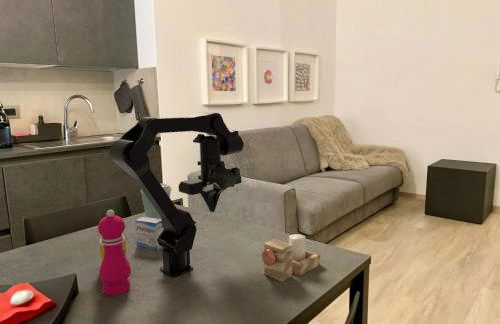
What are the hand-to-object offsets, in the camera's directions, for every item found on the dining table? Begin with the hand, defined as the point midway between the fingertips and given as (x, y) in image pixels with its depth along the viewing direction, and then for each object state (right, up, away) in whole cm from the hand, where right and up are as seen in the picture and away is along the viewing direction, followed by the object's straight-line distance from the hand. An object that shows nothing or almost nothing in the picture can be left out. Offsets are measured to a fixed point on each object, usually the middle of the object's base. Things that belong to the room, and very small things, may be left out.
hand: (212, 211), depth 110 cm
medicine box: (-20, -12, +9) cm, 25 cm away
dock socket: (+22, -14, -7) cm, 27 cm away
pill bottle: (-26, -15, -5) cm, 30 cm away
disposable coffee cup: (-22, -9, +28) cm, 37 cm away
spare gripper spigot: (+23, -14, -5) cm, 28 cm away
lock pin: (+18, -11, -11) cm, 24 cm away
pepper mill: (-22, -17, -17) cm, 32 cm away
